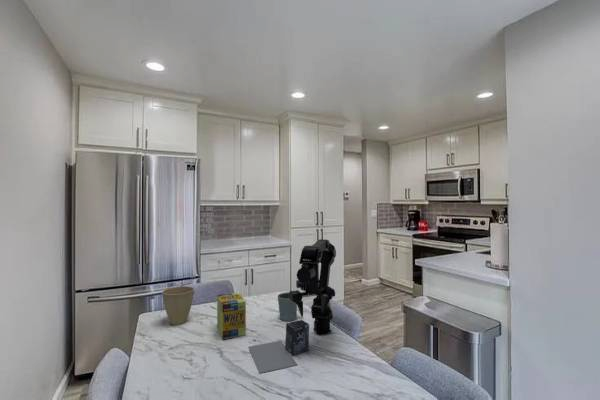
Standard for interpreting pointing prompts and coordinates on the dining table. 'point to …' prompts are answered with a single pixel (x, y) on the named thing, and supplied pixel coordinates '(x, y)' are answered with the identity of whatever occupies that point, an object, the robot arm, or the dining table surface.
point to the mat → (271, 357)
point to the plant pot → (178, 303)
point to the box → (297, 337)
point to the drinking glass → (287, 308)
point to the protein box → (231, 315)
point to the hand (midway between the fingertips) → (312, 314)
